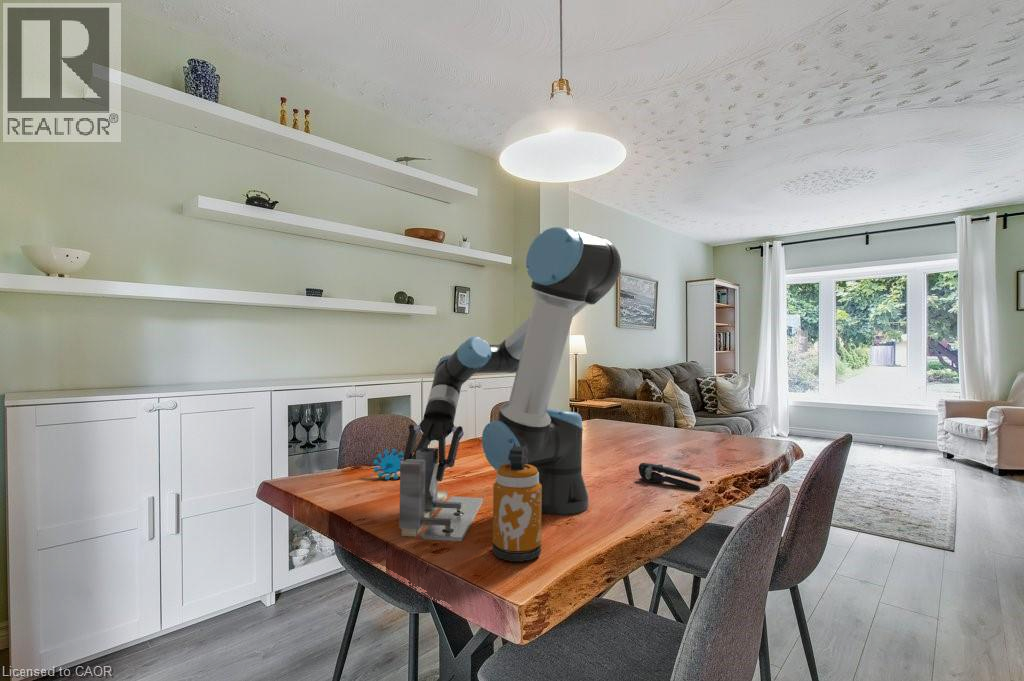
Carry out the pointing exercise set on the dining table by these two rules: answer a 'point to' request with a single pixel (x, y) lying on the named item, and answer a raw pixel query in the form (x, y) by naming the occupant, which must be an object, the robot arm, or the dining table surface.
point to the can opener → (651, 476)
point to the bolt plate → (454, 520)
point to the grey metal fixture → (416, 499)
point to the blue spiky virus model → (389, 464)
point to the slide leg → (430, 460)
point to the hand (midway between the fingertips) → (421, 492)
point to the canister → (517, 508)
